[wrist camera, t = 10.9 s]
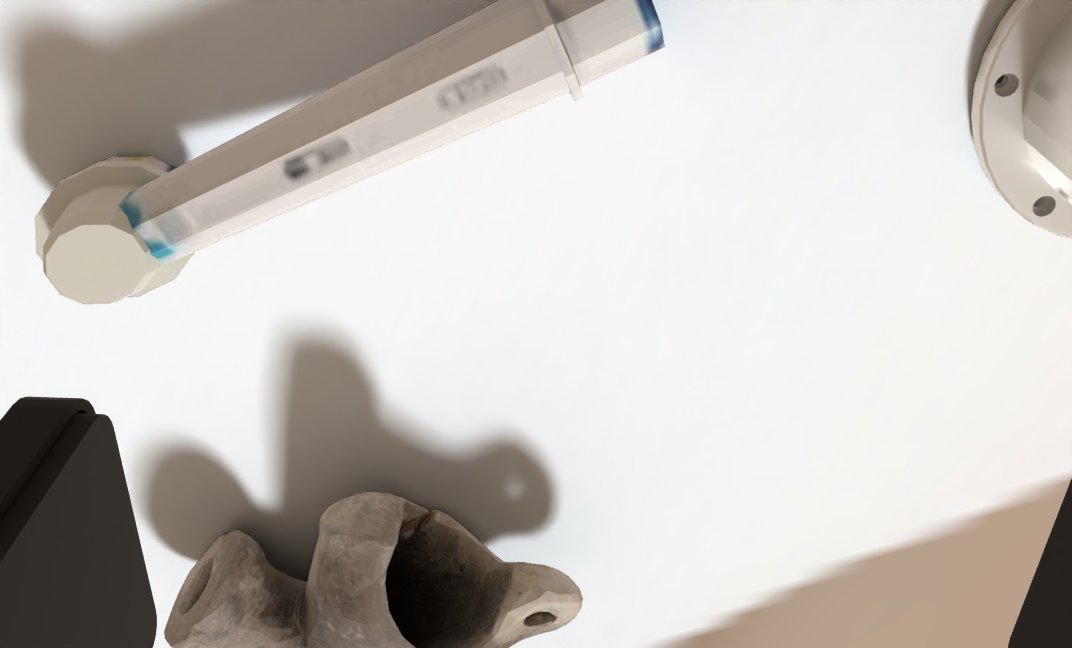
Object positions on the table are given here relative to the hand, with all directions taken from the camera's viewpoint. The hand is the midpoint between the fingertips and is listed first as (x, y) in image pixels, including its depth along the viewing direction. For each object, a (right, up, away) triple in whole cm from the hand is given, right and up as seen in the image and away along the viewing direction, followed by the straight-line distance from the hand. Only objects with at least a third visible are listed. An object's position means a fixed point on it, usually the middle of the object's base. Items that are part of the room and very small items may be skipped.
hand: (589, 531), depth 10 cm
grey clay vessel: (-9, -9, +41) cm, 43 cm away
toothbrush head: (-8, +10, +30) cm, 33 cm away
